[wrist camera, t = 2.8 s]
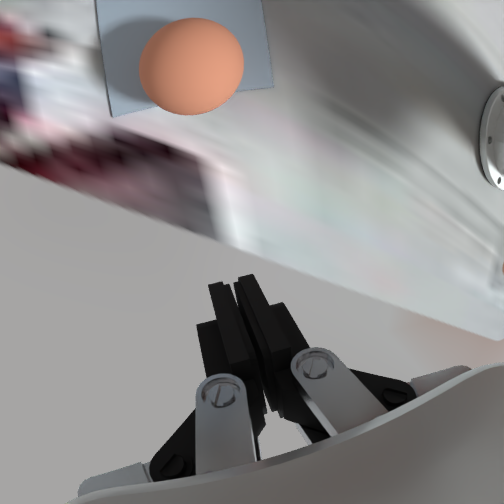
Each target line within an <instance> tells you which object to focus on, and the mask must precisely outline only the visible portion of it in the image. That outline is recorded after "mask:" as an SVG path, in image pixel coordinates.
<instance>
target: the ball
mask: <svg viewBox="0 0 504 504" xmlns="http://www.w3.org/2000/svg"><path fill="white" fill-rule="evenodd" d="M243 71H244V57H243V52H242V49H241V46H240V44H239V42H238V41H237V39H236V38H235V36H234V35H233V34H232V33H231V32H230V31H229V30H228V29H227V28H225V27H224V26H222V25H221V24H219V23H217V22H214V21H212V20H208V19H204V18H185V19H180V20H177V21H174V22H171V23H169V24H167V25H165V26H164V27H162V28H161V29H159V30H158V31H157V32H156V33H155V34H154V35H153V36H152V37H151V38H150V39H149V41H148V42H147V44H146V45H145V47H144V49H143V51H142V54H141V57H140V61H139V77H140V81H141V84H142V87H143V89H144V91H145V92H146V94H147V95H148V97H149V98H150V99H151V100H152V101H153V102H154V103H155V104H156V105H158V106H159V107H160V108H162V109H164V110H166V111H169V112H171V113H175V114H180V115H197V114H202V113H206V112H208V111H211V110H213V109H215V108H217V107H219V106H220V105H222V104H223V103H225V102H226V101H227V100H228V99H229V98H230V97H231V96H232V95H233V94H234V92H235V91H236V89H237V88H238V86H239V84H240V82H241V79H242V75H243Z"/></svg>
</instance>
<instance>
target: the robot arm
mask: <svg viewBox="0 0 504 504" xmlns="http://www.w3.org/2000/svg"><path fill="white" fill-rule="evenodd" d="M480 155H481V162H482V166H483V170H484V173H485V175H486V177H487V179H488V181H489V182H490V183H491V184H492V185H493V186H494V187H496V188H498V189H500V190H503V191H504V87H500V88H498V89H496V90H495V91H494V92H493V94H492V95H491V96H490V98H489V100H488V102H487V104H486V107H485V109H484V113H483V116H482V121H481V128H480ZM208 287H209V291H210V295H211V299H212V303H213V307H214V311H215V315H216V319H217V320H213V321H209V322H205V323H200V324H197V331H198V337H199V342H200V347H201V352H202V358H203V363H204V367H205V372H206V377H207V379H205V380H204V381H203V382H202V383H201V384H200V385H199V387H198V388H197V392H196V408H195V410H194V411H193V412H192V413H191V414H190V415H189V417H188V418H187V419H186V420H185V421H184V423H183V424H182V425H181V426H180V427H179V428H178V429H177V430H176V432H175V433H174V434H173V435H172V436H171V437H170V439H169V440H168V441H167V442H166V443H165V444H164V445H163V446H162V447H161V449H160V450H159V451H158V452H157V453H156V454H155V456H154V457H153V458H152V460H151V461H150V462H148V463H145V464H142V463H141V462H139V463H136V464H133V465H130V466H127V467H124V468H121V469H118V470H114V471H111V472H108V473H104V474H101V475H97V476H94V477H90V478H88V479H87V480H84V481H83V482H82V484H81V485H80V487H79V490H78V497H77V498H75V499H73V500H71V501H69V502H67V503H66V504H504V363H494V364H490V365H484V366H481V367H478V368H475V369H471V368H469V367H467V366H462V365H461V366H454V367H451V368H448V369H445V370H441V371H438V372H435V373H431V374H428V375H424V376H421V377H417V378H413V379H411V382H408V383H406V382H403V381H401V380H397V379H392V378H387V377H383V376H378V375H374V374H370V373H365V372H361V371H356V370H353V369H349V368H347V367H346V365H345V364H344V363H343V362H342V361H340V359H339V358H338V357H337V356H336V355H335V354H334V353H333V352H331V351H330V350H327V349H325V348H318V347H314V348H310V347H309V345H308V344H307V342H306V340H305V338H304V337H303V335H302V333H301V331H300V330H299V328H298V327H297V325H296V323H295V321H294V320H293V318H292V316H291V314H290V313H289V311H288V309H287V308H286V306H285V304H284V303H283V302H281V303H278V304H274V305H270V306H269V304H268V302H267V300H266V298H265V296H264V294H263V292H262V290H261V288H260V286H259V284H258V282H257V280H256V279H255V277H254V275H253V274H250V275H246V276H242V277H238V282H234V289H235V294H236V299H237V303H236V301H235V298H234V295H233V293H232V290H231V287H230V285H229V284H226V285H224V284H223V282H217V283H214V284H209V285H208ZM237 304H238V306H237ZM263 390H264V392H263ZM264 393H265V396H266V398H267V401H268V403H269V406H270V409H271V411H272V412H274V411H278V413H279V416H280V418H283V417H284V419H286V420H289V421H292V422H295V425H296V428H297V429H298V431H299V432H300V434H301V435H302V437H303V438H304V440H305V441H306V442H307V444H308V446H306V447H303V448H300V449H297V450H294V451H291V452H287V453H284V454H281V455H278V456H275V457H271V458H268V459H264V460H262V457H261V450H260V443H259V438H258V436H259V434H260V433H261V431H262V430H263V428H264V427H265V425H266V423H265V418H264V414H267V408H266V403H265V398H264Z"/></svg>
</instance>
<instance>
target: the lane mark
mask: <svg viewBox="0 0 504 504" xmlns="http://www.w3.org/2000/svg"><path fill="white" fill-rule="evenodd" d="M96 3H97V14H98V24H99V32H100V41H101V48H102V56H103V63H104V69H105V76H106V82H107V88H108V93H109V99H110V104H111V110H112V115H113V118H114V117H117V116H121V115H125V114H128V113H132V112H136V111H140V110H144V109H148V108H152V107H156V106H158V105H156V104H155V103H154V102H153V101H152V100H151V99H150V98H149V97H148V95H147V94H146V92H145V91H144V89H143V87H142V84H141V81H140V77H139V61H140V57H141V54H142V51H143V49H144V47H145V45H146V44H147V42H148V41H149V39H150V38H151V37H152V36H153V35H154V34H155V33H156V32H157V31H158V30H159V29H161V28H162V27H164V26H165V25H167V24H169V23H171V22H174V21H177V20H180V19H185V18H204V19H208V20H212V21H214V22H217V23H219V24H221V25H222V26H224V27H225V28H227V29H228V30H229V31H230V32H231V33H232V34H233V35H234V36H235V38H236V39H237V41H238V42H239V44H240V46H241V49H242V52H243V57H244V71H243V75H242V79H241V82H240V84H239V86H238V88H237V89H236V91H235V92H237V91H245V90H253V89H262V88H271V87H274V85H273V77H272V70H271V62H270V55H269V48H268V41H267V35H266V28H265V21H264V15H263V9H262V3H261V0H96Z"/></svg>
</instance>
